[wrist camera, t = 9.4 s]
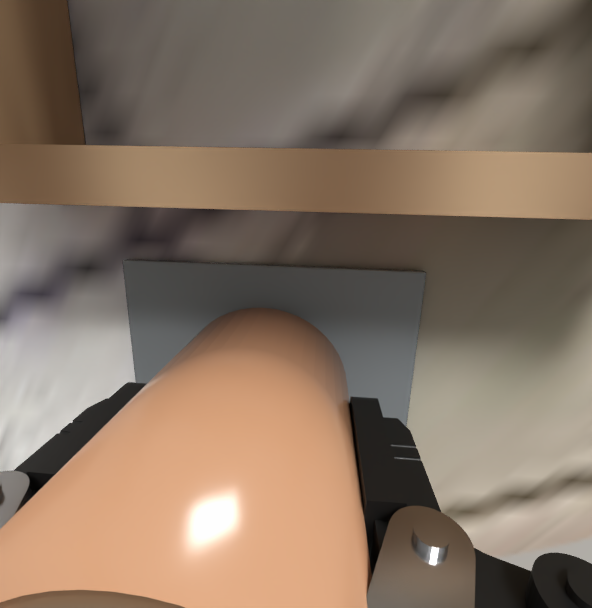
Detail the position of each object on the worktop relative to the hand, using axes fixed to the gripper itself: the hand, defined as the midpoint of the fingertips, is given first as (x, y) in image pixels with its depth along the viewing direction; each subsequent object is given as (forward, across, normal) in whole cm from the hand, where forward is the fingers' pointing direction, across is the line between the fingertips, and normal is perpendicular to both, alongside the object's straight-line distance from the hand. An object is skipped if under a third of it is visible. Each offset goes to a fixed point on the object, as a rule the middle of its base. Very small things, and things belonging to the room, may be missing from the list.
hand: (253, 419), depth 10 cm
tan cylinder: (+2, 0, 0) cm, 2 cm away
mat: (+3, 0, 0) cm, 3 cm away
